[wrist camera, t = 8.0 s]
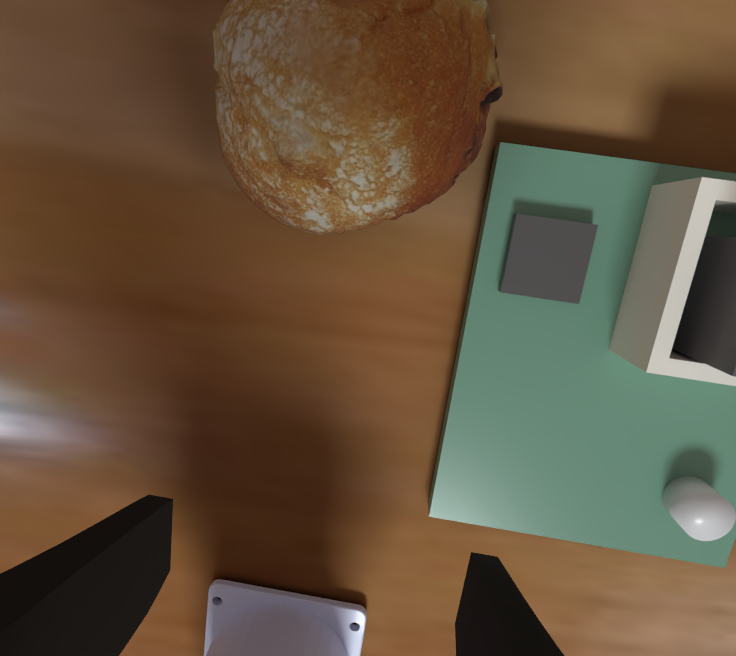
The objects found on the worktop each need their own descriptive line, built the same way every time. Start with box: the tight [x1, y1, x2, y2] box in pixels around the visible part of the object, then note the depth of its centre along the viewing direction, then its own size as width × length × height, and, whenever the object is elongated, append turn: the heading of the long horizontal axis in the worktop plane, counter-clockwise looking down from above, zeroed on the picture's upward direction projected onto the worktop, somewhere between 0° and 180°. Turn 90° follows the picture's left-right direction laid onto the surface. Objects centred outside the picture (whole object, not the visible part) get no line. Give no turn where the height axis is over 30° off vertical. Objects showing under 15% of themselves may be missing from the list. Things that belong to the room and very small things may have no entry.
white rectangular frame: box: [609, 177, 736, 386], centre depth 16 cm, size 6×5×3 cm
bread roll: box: [212, 0, 503, 235], centre depth 16 cm, size 10×10×8 cm
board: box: [428, 142, 736, 568], centre depth 19 cm, size 16×13×2 cm
